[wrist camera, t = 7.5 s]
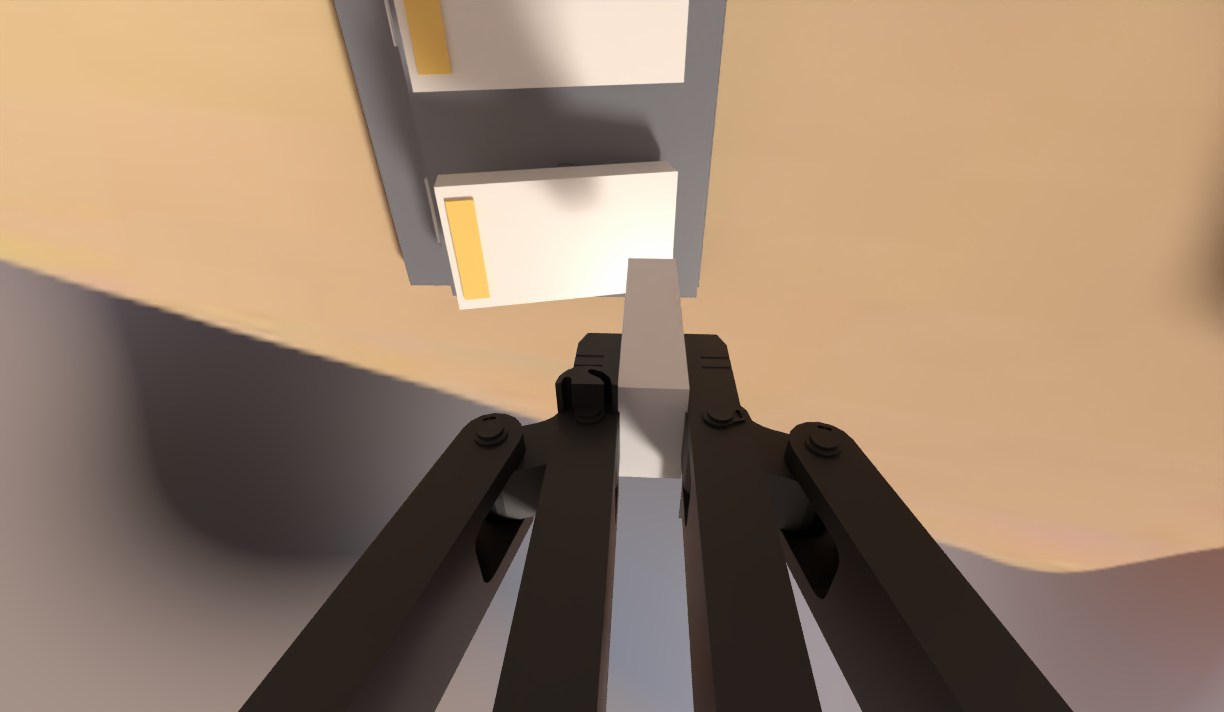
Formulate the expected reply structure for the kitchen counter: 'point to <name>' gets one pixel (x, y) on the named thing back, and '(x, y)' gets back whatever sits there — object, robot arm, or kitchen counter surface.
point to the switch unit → (530, 132)
